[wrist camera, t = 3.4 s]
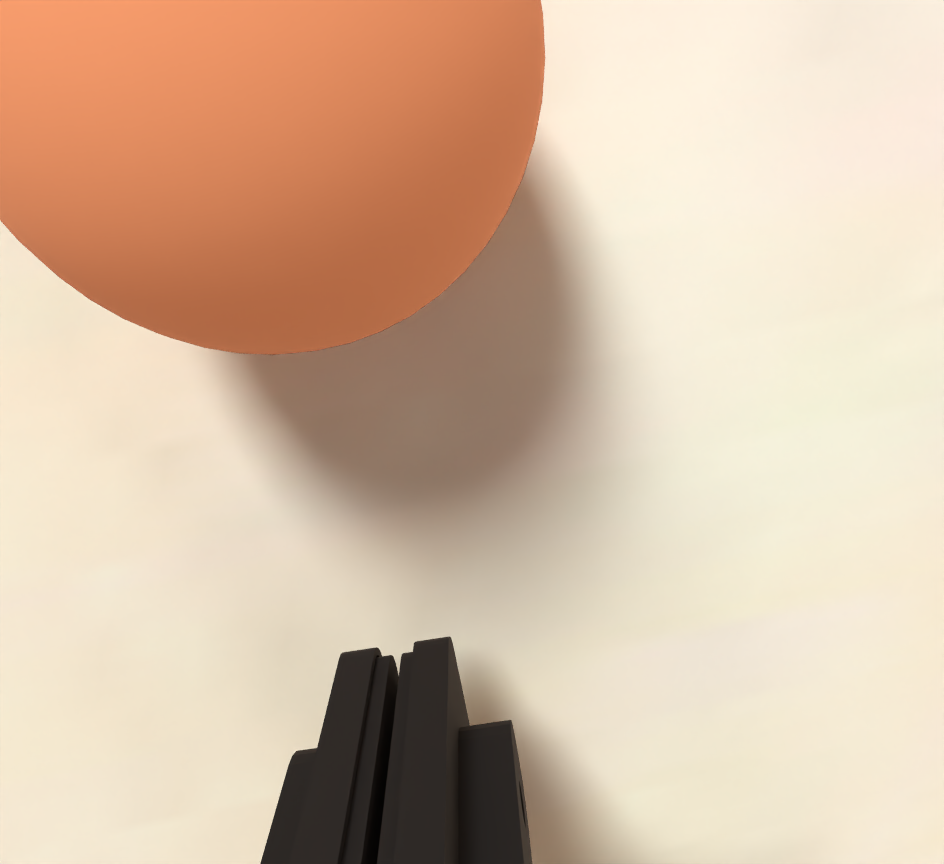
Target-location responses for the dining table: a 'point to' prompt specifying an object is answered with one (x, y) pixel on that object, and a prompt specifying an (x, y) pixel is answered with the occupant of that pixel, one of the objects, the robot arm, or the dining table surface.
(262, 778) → the dining table surface
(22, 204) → the ball
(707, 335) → the dining table surface
